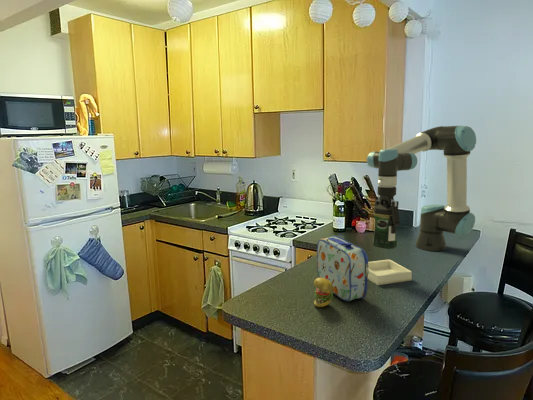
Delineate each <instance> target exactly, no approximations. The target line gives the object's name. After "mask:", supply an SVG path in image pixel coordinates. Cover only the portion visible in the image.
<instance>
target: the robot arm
mask: <svg viewBox="0 0 533 400" xmlns="http://www.w3.org/2000/svg"><path fill="white" fill-rule="evenodd" d="M476 145H477V135H476V132H475V131H474V129H473V128H472V127H470V126H468V125H467V126H466V125H451V126H450V125H448V126H447V125H446V126H443V125H440V126H435V127H431V128H429V129H426V130H424V131H421V132H419V133H417V134H416V135H415V136H414V137H411V138H410V139H408V140H405V141H402V142H400V143H397V144H395V145H393V146H391V147H388V148H382V149H380V150H379V151H377V150H375V151H370V152H369V153H368V155H367V157H366V163H367V166H368V167H370V168H372V169H373V168H374V169H378V170H377V171H378V177H377V185H378V186H377V195H378V196H375V197H374V198H375V199H374V200H375V201H374V207H373V210H374V209H375V206H376V205H384V206H385V208H386V209H388V207H390V206H391V209H392V216H391V215H390V217H389V221H390V225H389V236H388V241H395V233H396V234H397V226H400V225H401V222H400V211H399V201H397V200H395V199H394V198H395V196H396V195H397V182H398V178H397V177H398V175H397V174H398V171H399V172H400V171H409V170H410V171H411V170H414V169H415V167H416V166H417V165H418V157H417V155H416V154H418V153H420V152H422V153H424V152H427V151H436V150H437V151H443V156H444V157H445V158H446V172H447V173H446V180H447V181H446V183H447V185H446V188H447V189H446V192H447V195H446V197H447V198H446V203H447V205H443V204H427V205H423V206H422V207H421V208H420V213H419V214H420V221H419V233H418V236H417V237H416V241H415V247H416V248H418V249H420V250H423V251H429V252H431V251H432V252H440V251H444V250H447V249H446V248H447V243H446V239H445V236H444V233H449V234H450V233H451V234H453V235H459V236H467V235H468V234H470V233H471V232H472V230H473V229H474V227H475V223H476V216H475V214H474V213H472V212H471V210H470V209H471V207H470V206H469V205H467V203H468V202H467V181H468V180H467V179H468V178H467V177H468V176H467V174H468V173H467V172H468V167H467V166H468V159H467V158H468V157H469V156H470V155H471V152H472V151H473V150H474V149H475V148H476ZM372 218H374V219H375V217H374V211H373V213H372Z"/></svg>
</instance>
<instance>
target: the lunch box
mask: <svg viewBox="0 0 533 400" xmlns="http://www.w3.org/2000/svg"><path fill="white" fill-rule="evenodd" d="M316 244H317V245H316V267H317V275H318V278H325V279H327V280H329V281H330V282H331V283H332V285H333V295H335V296H336V297H338V298H340V300H341V301H345V302H351V301H352V300H355V299H365V298H366V296H367V294H368V293H367V292H368V290H369V285H370V284H369V279H368V278H367V277H368V274H369V268H368V262H369V256H368V254H367V252H366V251H365V249H363V248H362V247H360V246H358V245H356V244H354V243H352V242H350V241H348V240H346V239H344V238H343V237H340V236H338V235H333V236H329V237H325V238H319V239H318V241H317V243H316ZM328 277H329V278H328Z"/></svg>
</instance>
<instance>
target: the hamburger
mask: <svg viewBox="0 0 533 400" xmlns="http://www.w3.org/2000/svg"><path fill="white" fill-rule="evenodd" d="M328 278H329V277H328ZM313 285H314V288H315V290H314V299H315V300H314V301H313V304H314V305H315V307H317V308H324V307H326V306H328V305H330V304H331V302H332V299H333V295H334V293H333V285H332V283H331V282H330V281H329V280H327V279H325V278H319V277H317V278H315V279H314V281H313Z"/></svg>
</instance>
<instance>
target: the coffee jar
mask: <svg viewBox="0 0 533 400" xmlns="http://www.w3.org/2000/svg"><path fill="white" fill-rule="evenodd" d="M374 207H375V209H374V208H373V212H374V217H375V218H374V230H373V238H372V245H373V246H374V247H375V248H378V249H384V250H392V249H396V248H397V246H398V238H397V232H396V233H395V241H388V236H389V225H390V221H389V217H390V215H391V216H392V209H391V206H390V207H388V209H386V208H385V206H384V205H376V206H375V205H374Z"/></svg>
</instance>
